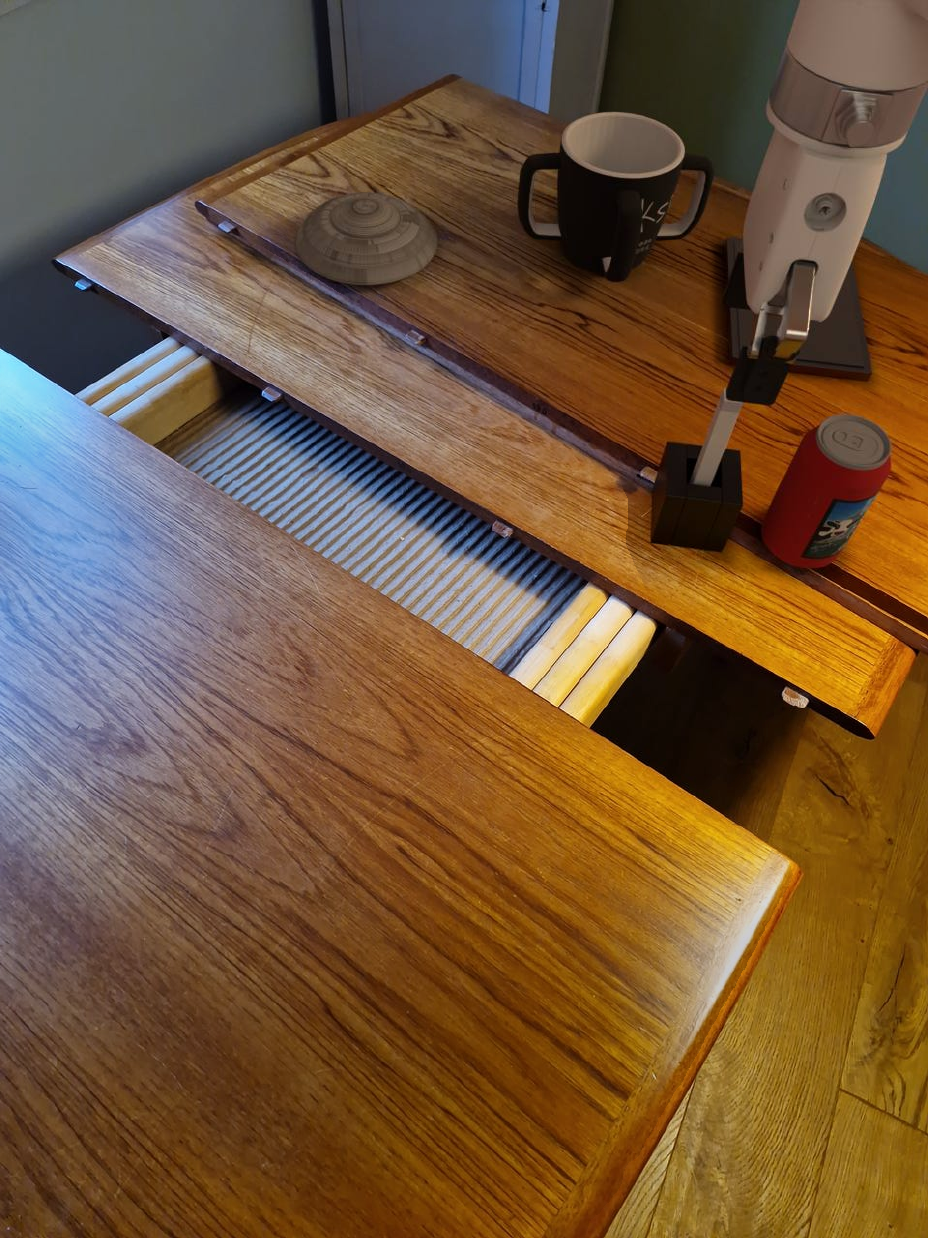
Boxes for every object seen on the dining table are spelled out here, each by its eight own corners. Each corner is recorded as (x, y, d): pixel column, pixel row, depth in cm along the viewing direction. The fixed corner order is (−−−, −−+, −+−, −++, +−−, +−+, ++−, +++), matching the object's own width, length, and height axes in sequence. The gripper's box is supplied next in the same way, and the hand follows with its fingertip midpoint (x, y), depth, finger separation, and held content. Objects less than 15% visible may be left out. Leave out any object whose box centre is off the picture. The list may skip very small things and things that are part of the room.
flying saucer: (453, 226, 99) (454, 178, 94) (415, 308, 91) (415, 260, 86) (324, 202, 100) (319, 154, 96) (275, 281, 92) (268, 232, 88)
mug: (603, 319, 91) (625, 208, 81) (498, 244, 97) (506, 133, 87) (707, 260, 97) (740, 150, 87) (602, 193, 104) (621, 84, 94)
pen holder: (720, 499, 78) (740, 450, 73) (722, 553, 74) (743, 505, 69) (651, 490, 78) (667, 440, 73) (650, 543, 75) (666, 495, 70)
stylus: (694, 515, 76) (742, 389, 65) (694, 528, 76) (743, 403, 64) (677, 513, 77) (723, 387, 65) (677, 526, 76) (723, 400, 64)
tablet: (847, 259, 98) (851, 249, 97) (868, 381, 87) (873, 372, 86) (724, 245, 99) (727, 235, 98) (729, 364, 88) (732, 355, 87)
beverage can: (822, 587, 73) (886, 487, 63) (745, 551, 74) (794, 448, 65) (848, 533, 76) (912, 430, 66) (774, 500, 78) (825, 394, 68)
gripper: (942, 192, 42) (809, 448, 57) (896, 25, 52) (792, 281, 66) (784, 173, 43) (691, 433, 57) (766, 11, 52) (691, 268, 66)
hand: (745, 351), depth 62 cm, fingers open, 9 cm apart
